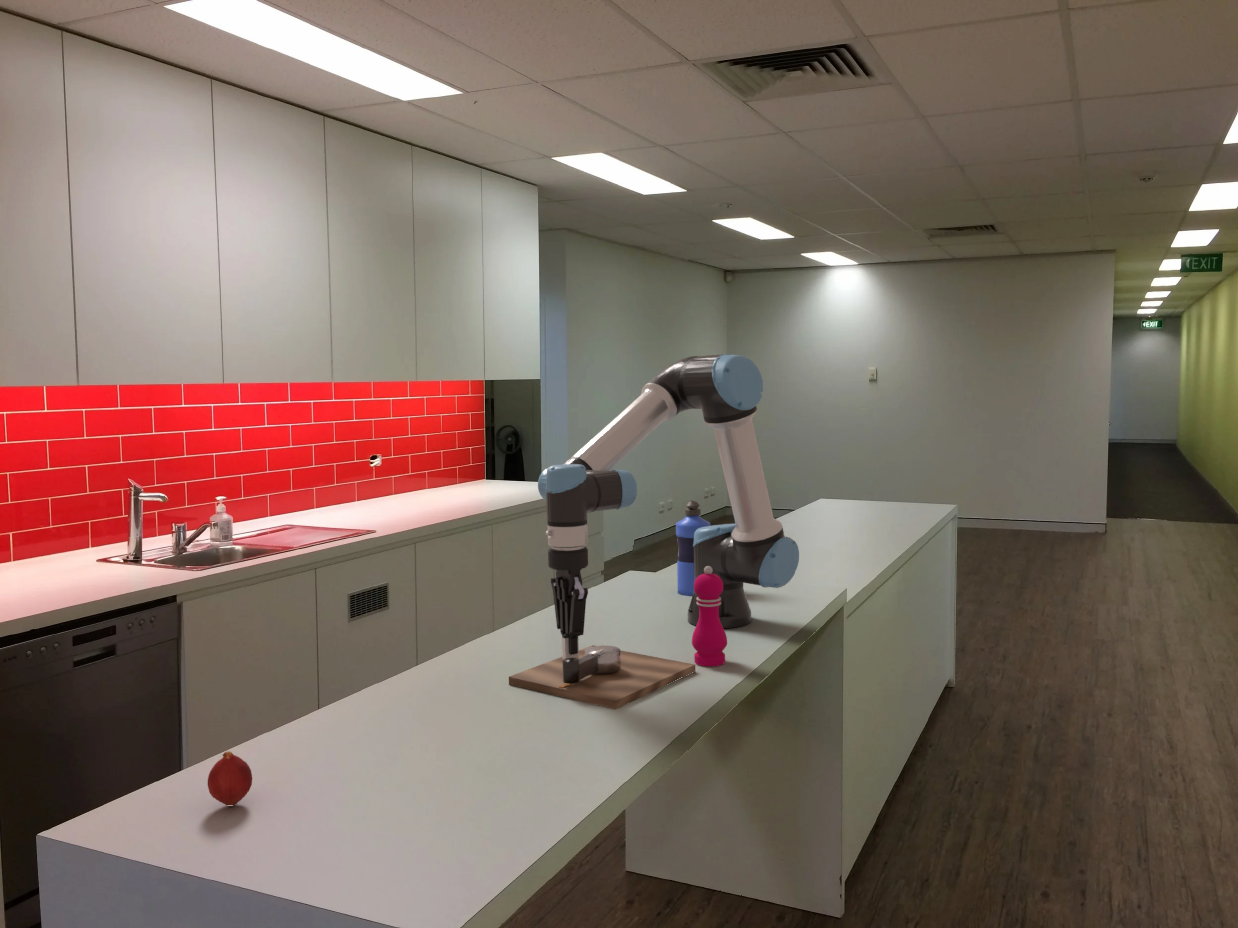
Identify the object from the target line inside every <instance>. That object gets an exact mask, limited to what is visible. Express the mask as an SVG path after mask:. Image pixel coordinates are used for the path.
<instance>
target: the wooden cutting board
mask: <svg viewBox="0 0 1238 928" xmlns="http://www.w3.org/2000/svg"><path fill="white" fill-rule="evenodd" d="M594 646H595V645H589V646H588V647H585V648H581V649H579V659H580V658H582V657H584V656H585V650H586V649H587V648H590V647H594ZM620 651H621V669H620V670H618V671H616V672H612V673H593V674H591V675H589V676H587V677H585V678H583V679H581V680H579V682H577V683H573V684H567V683H564V682H563V662H562V660H563V656H560V657H558V658H555V659H552V660H549V661H546V662H545V663H541V664H538V665H536V666H534V667H531V668H528V669H525V670H522V671H520V672H517V673H515V674H512V675H510V676H508V685H511V686H516V687H517V688H518V687H519V688H523V689H528V690H532V691H537V692H540V693H545V694H548V695H552V696H556V697H561V698H566V699H571V700H575V701H577V702H578V701H579V702H582V703H588V704H591V705H595V706H599V707H604V708H608V709H612V710H618V709H620V708H621V707H623V706H626V705H627V704H628V705H629V704H630V703H632V702H634V701H637V700H638V699H639V700H640V698H643V697H645V696H647V695H649V694H651V693H653V691H654V692H655V690H656V691H658V690H660V689H662V688H664V687H666V686H668V685H667V684H669V683H671V682H673V681H675V680H677V679H679V678H681V677H683V678H685V677H684V676H686V675H688V674H690V673H692V672H694V671H695V672H696V664H695V663H691V662H690V663H689V662H683V661H678V660H673V659H667V658H663V657H656V656H653V655H646V654H642V653H635V652H632V651H631V652H629V651H625V650H621V649H620ZM695 672H694V673H695ZM692 674H693V673H692ZM690 675H691V674H690ZM688 676H689V675H688ZM686 677H687V676H686ZM681 679H682V678H681ZM679 680H680V679H679ZM677 681H678V680H677ZM675 682H676V681H675ZM673 683H674V682H673ZM671 684H672V683H671ZM665 685H666V686H665ZM669 685H670V684H669ZM663 686H664V687H663ZM661 687H662V688H661ZM659 688H660V689H659ZM657 689H658V690H657Z"/></svg>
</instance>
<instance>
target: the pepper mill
mask: <svg viewBox="0 0 1238 928" xmlns="http://www.w3.org/2000/svg"><path fill="white" fill-rule="evenodd" d="M712 571H713V570H712V567H710V566H706V567H705V568H704V573H705V574H701V575H699V576H698V577H697V578H696V580H695V582H694V591H695V593H696V594H697V595H698V597H697V598H696V599H697V605H699V620H698V623H697V625H695V628H694V631H693V633H692V637H691V638H692V639H691V645H692V647H693V649H694V650H695V651H696V652H695V653H694V654H693V655H694V656H693V657H694V659H693V660H694V664H695V663H696V664H695V665H697V666H700V667H706V666H709V668H712V666H714V667H720V666H722V665H725V663H726V654H725V652H723V651H724V650H725V649H726V648H727V645H728V637H727V634H726V631H725V628H723V627H722V624H721V622H720V619H719V605H720V604H721V602H720V601H721V597H719V595H720V594H721V593H722V591H723V582H722V580H721V578H720V577H719V576H718V575H716V574H712Z"/></svg>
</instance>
